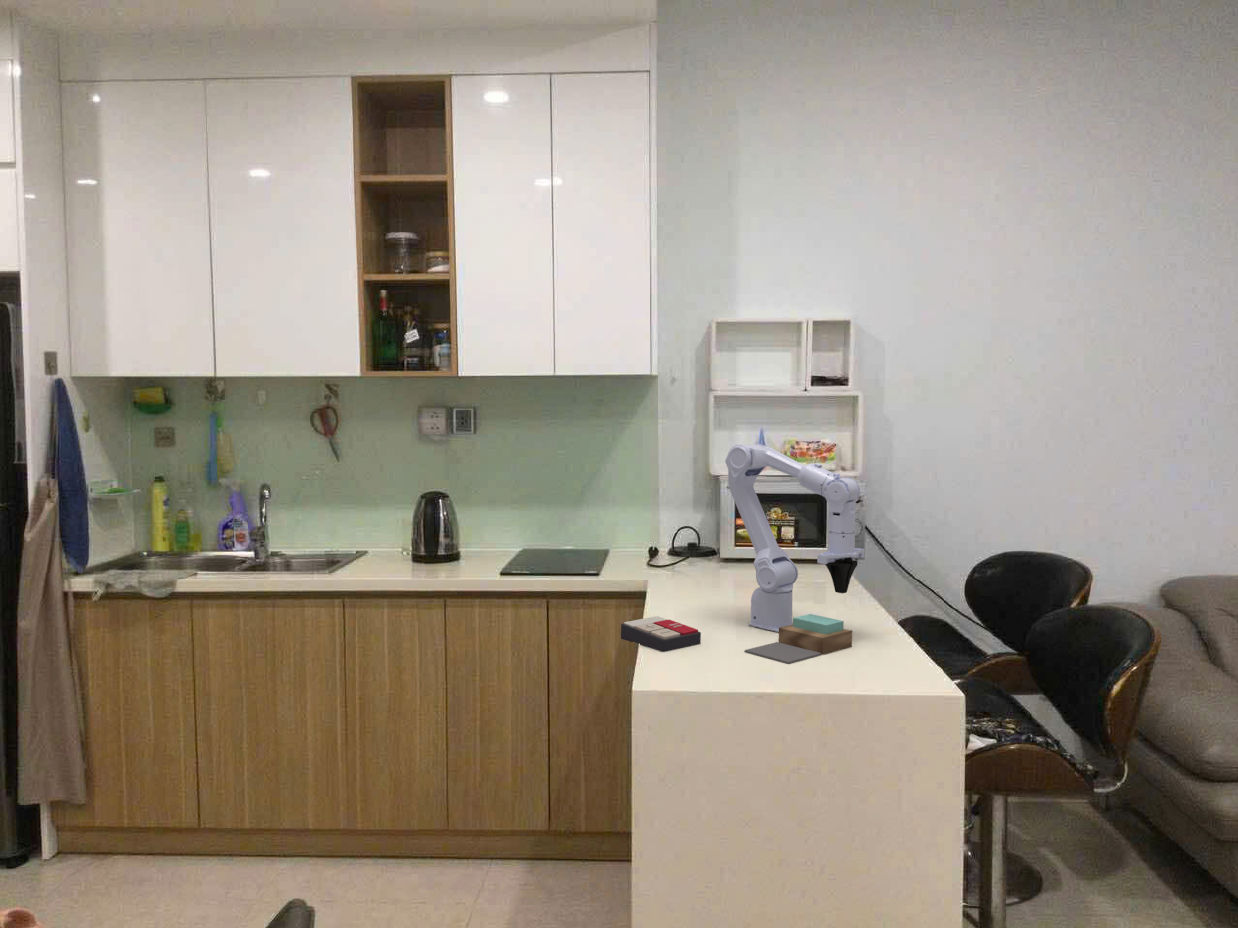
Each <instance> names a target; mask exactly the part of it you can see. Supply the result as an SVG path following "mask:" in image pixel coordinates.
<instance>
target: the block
mask: <svg viewBox="0 0 1238 928" xmlns="http://www.w3.org/2000/svg"><path fill="white" fill-rule="evenodd" d="M792 623H793V627H796V628H800V629H805V630H809V631H813V632H817V633H822V634H830V633H834V632H838V631H842V630H844V629H845V627H844V624H845V623H844V620H841V619H835V618H831V617H827V616H823V615H822V616H821V615H817V614H813V613H809V614H808V613H807V614H804V615H800V616H796V617H792Z"/></svg>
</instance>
